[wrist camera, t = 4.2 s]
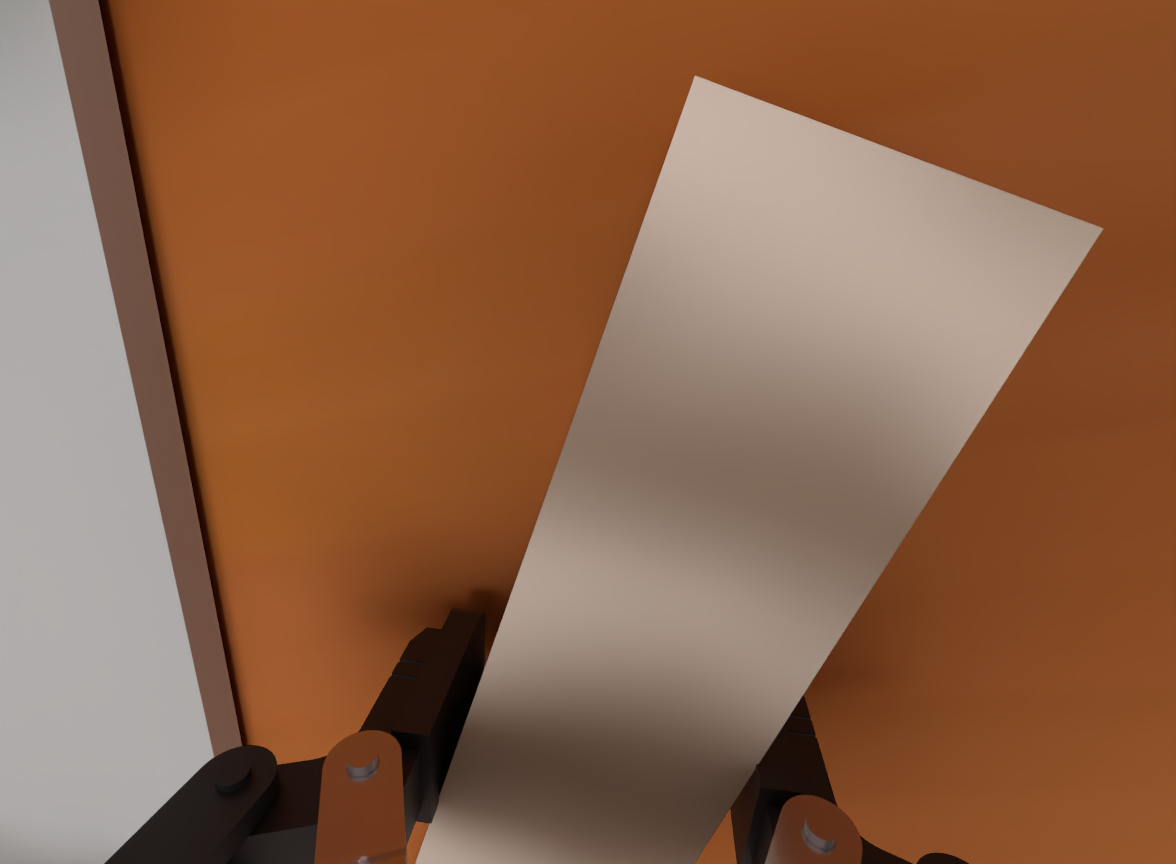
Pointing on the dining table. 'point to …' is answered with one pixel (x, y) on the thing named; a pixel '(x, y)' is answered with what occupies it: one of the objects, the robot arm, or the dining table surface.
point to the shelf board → (737, 475)
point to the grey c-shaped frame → (89, 474)
